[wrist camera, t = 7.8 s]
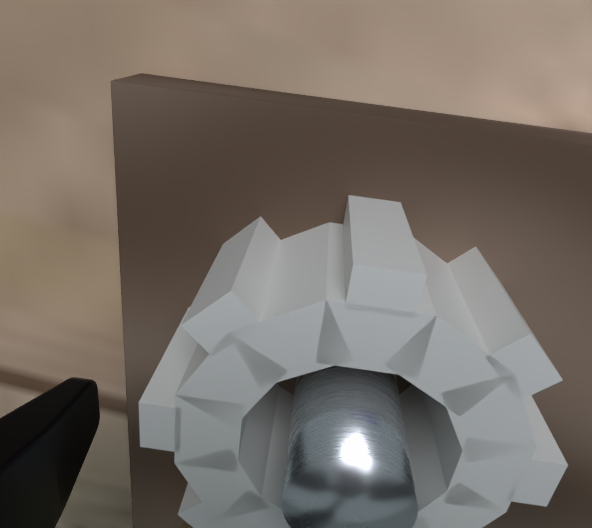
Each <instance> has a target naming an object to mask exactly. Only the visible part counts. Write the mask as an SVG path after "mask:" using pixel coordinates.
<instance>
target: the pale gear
mask: <svg viewBox="0 0 592 528" xmlns="http://www.w3.org/2000/svg"><path fill="white" fill-rule="evenodd" d="M335 365H336V366H342V367H349V368H356V369H363V370H370V371H377V372H384V373H391V374H398V375H400V376H402V377H403V378H404V379H406V380H407V381H409V382H410V383H412V385H411V386H409V387H408V388H407V389H406V390H405V391H404V392H402V393H401V394H400V395H399V397H400V403H401V409H402V415H403V421H404V427H405V433H406V439H407V445H408V451H409V456H410V462H411V468H412V474H413V480H414V486H415V492H416V498H417V504H418V515H417V519H416V522H415V524H414V526H413V527H412V528H483V527H484V526H486V525H487V524H489V523H490V522H492V521H494V520H495V519H497V518H498V517H500V516H501V515H503V514H504V513H506V512H507V510H508V507H509V505H510V503H511V501H512V502H518V503H525V504H532V505H539V506H545V507H547V505H548V503H549V501H550V499H551V497H552V495H553V493H554V491H555V490H556V488H557V486H558V484H559V482H560V480H561V478H562V476H563V474H564V472H565V470H566V468H567V467H568V464H567V462H566V460H565V458H564V456H563V454H562V452H561V451H560V449H559V447H558V445H557V443H556V441H555V439H554V437H553V435H552V433H551V432H550V430H549V428H548V426H547V424H546V422H545V420H544V418H543V416H542V414H541V413H540V411H539V409H538V407H537V405H536V403H535V401H534V399H533V397H532V395H533V394H535V393H537V392H539V391H541V390H543V389H546V388H548V387H550V386H552V385H554V384H556V383H558V382H561V381H563V379H562V378H561V376H560V375H559V373H558V372H557V370H556V368H555V367H554V365H553V364H552V362H551V361H550V359H549V357H548V356H547V354H546V353H545V351H544V350H543V348H542V346H541V345H540V343H539V342H538V340H537V339H536V337H535V336H534V334H533V332H532V331H531V329H530V328H529V326H528V325H527V323H526V321H525V320H524V318H523V317H522V315H521V314H520V312H519V310H518V309H517V307H516V306H515V304H514V303H513V301H512V299H511V298H510V296H509V295H508V293H507V292H506V290H505V288H504V287H503V285H502V284H501V282H500V281H499V279H498V278H497V276H496V275H495V273H494V272H493V271H492V269H491V268H490V266H489V265H488V263H487V262H486V260H485V259H484V257H483V256H482V254H481V253H480V251H479V250H478V249H477V247H474V248H472V249H471V250H469V251H467V252H466V253H464V254H462V255H461V256H459V257H457V258H456V259H454V260H452V261H451V262H449V263H446V262H445V261H443V260H442V259H441V258H440V257H438V256H437V255H436V254H434V253H433V252H432V251H431V250H429V249H428V248H427V247H425V246H424V245H423V244H421V243H420V242H419V241H418V240H416V239H415V238H414V237H413V235H412V232H411V229H410V226H409V224H408V221H407V218H406V215H405V213H404V210H403V207H402V204H401V202H395V201H388V200H381V199H374V198H366V197H359V196H352V195H348V200H347V205H346V211H345V217H344V223H343V224H338V223H331V222H329V223H326V224H323V225H320V226H318V227H315V228H312V229H309V230H307V231H304V232H301V233H299V234H296V235H293V236H290V237H288V238H285V239H282V240H280V238H279V237H278V236H277V235H276V234H275V233H274V231H273V230H272V229H271V228H270V227H269V225H268V224H267V223H266V222H265V221H264V220H263V218H262V217H261V216H260V217H259V218H258V219H256V220H255V221H253V222H252V223H251V224H249V225H248V226H247V227H245V228H244V229H243V230H241V231H240V232H239V233H237V234H236V235H234V236H233V237H232V238H230V239H229V240H228V241H226V242H225V243H224V244H223V245H222V247H221V249H220V251H219V253H218V255H217V257H216V259H215V260H214V262H213V264H212V266H211V268H210V270H209V272H208V274H207V276H206V278H205V280H204V282H203V284H202V285H201V287H200V289H199V291H198V293H197V295H196V297H195V299H194V301H193V303H192V305H191V307H189V308H188V309H187V311H186V313H185V315H184V317H183V319H182V321H181V323H180V325H179V327H178V328H177V330H176V332H175V334H174V336H173V338H172V340H171V342H170V344H169V346H168V347H167V349H166V351H165V353H164V355H163V357H162V359H161V361H160V363H159V365H158V367H157V368H156V370H155V372H154V374H153V376H152V378H151V380H150V382H149V384H148V386H147V387H146V389H145V391H144V393H143V395H142V397H141V399H140V401H139V430H140V447H145V448H152V449H159V450H165V451H172V452H175V453H174V463H175V465H176V466H177V468H178V469H179V470H180V472H181V473H182V475H183V476H184V477H185V479H186V480H187V482H188V484H187V487H186V491H185V494H184V497H183V500H182V503H181V506H180V509H179V512H178V515H179V516H180V517H181V518H182V519H183V520H185V521H186V522H187V523H188V524H190V525H191V526H192V527H193V528H291V527H290V526H289V525H288V523H287V521H286V520H285V518H284V515H283V511H282V497H283V488H284V480H285V471H286V462H287V454H288V445H289V436H290V428H291V419H292V410H293V402H294V395H293V394H291V393H289V392H288V391H286V390H285V389H283V388H282V387H280V386H279V385H278V383H277V382H280V381H283V380H287V379H290V378H294V377H297V376H300V375H304V374H307V373H311V372H314V371H317V370H321V369H324V368H328V367H331V366H335Z"/></svg>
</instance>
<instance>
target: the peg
mask: <svg viewBox="0 0 592 528" xmlns="http://www.w3.org/2000/svg"><path fill="white" fill-rule="evenodd" d="M282 511H283V515H284V518H285V520H286V521H287V523H288V525H289V526H290V527H291V528H412V527H413V526H414V524H415V522H416V519H417V515H418V504H417V498H416V492H415V486H414V480H413V474H412V468H411V462H410V456H409V451H408V445H407V439H406V433H405V427H404V421H403V415H402V409H401V403H400V397H399V391H398V385H397V379H396V374H391V373H384V372H377V371H370V370H363V369H356V368H349V367H342V366H336V365H335V366H331V367H328V368H324V369H321V370H317V371H314V372H311V373H307V374H304V375H300V376H297V377H296V384H295V393H294V402H293V410H292V419H291V428H290V436H289V445H288V454H287V462H286V471H285V480H284V488H283V497H282Z"/></svg>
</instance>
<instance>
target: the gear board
mask: <svg viewBox="0 0 592 528" xmlns="http://www.w3.org/2000/svg"><path fill="white" fill-rule="evenodd" d="M111 97H112V117H113V136H114V156H115V176H116V196H117V216H118V235H119V255H120V275H121V295H122V314H123V334H124V354H125V374H126V394H127V413H128V433H129V453H130V473H131V492H132V512H133V528H181V527H182V523H183V519H182V518H181V517H180V516H179V515H178V512H179V509H180V506H181V503H182V500H183V497H184V494H185V491H186V487H187V484H188V482H187V480H186V479H185V477H184V476H183V475H182V473H181V472H180V470H179V469H178V468H177V466H176V465H175V463H174V453H175V452H172V451H165V450H159V449H152V448H145V447H140V430H139V401H140V399H141V397H142V395H143V393H144V391H145V389H146V387H147V386H148V384H149V382H150V380H151V378H152V376H153V374H154V372H155V370H156V368H157V367H158V365H159V363H160V361H161V359H162V357H163V355H164V353H165V351H166V349H167V347H168V346H169V344H170V342H171V340H172V338H173V336H174V334H175V332H176V330H177V328H178V327H179V325H180V323H181V321H182V319H183V317H184V315H185V313H186V311H187V309H188V308H189V307H191V305H192V303H193V301H194V299H195V297H196V295H197V293H198V291H199V289H200V287H201V285H202V284H203V282H204V280H205V278H206V276H207V274H208V272H209V270H210V268H211V266H212V264H213V262H214V260H215V259H216V257H217V255H218V253H219V251H220V249H221V247H222V245H223V244H224V243H225V242H226V241H228V240H229V239H230V238H232V237H233V236H234V235H236V234H237V233H239V232H240V231H241V230H243V229H244V228H245V227H247V226H248V225H249V224H251V223H252V222H253V221H255V220H256V219H258V218H259V217H260V216H261V217H262V218H263V220H264V221H265V222H266V223H267V224H268V225H269V227H270V228H271V229H272V230H273V231H274V233H275V234H276V235H277V236H278V237H279V238H280V240H282V239H285V238H288V237H290V236H293V235H296V234H299V233H301V232H304V231H307V230H309V229H312V228H315V227H318V226H320V225H323V224H326V223H329V222H331V223H338V224H343V223H344V217H345V211H346V205H347V200H348V195H352V196H359V197H366V198H374V199H381V200H388V201H395V202H401V204H402V207H403V210H404V213H405V215H406V218H407V221H408V224H409V226H410V229H411V232H412V235H413V237H414V238H415V239H416V240H418V241H419V242H420V243H421V244H423V245H424V246H425V247H427V248H428V249H429V250H431V251H432V252H433V253H434V254H436V255H437V256H438V257H440V258H441V259H442V260H443V261H445V262H446V263H449V262H451V261H452V260H454V259H456V258H457V257H459V256H461V255H462V254H464V253H466V252H467V251H469V250H471V249H472V248H474V247H477V249H478V250H479V251H480V253H481V254H482V256H483V257H484V259H485V260H486V262H487V263H488V265H489V266H490V268H491V269H492V271H493V272H494V273H495V275H496V276H497V278H498V279H499V281H500V282H501V284H502V285H503V287H504V288H505V290H506V292H507V293H508V295H509V296H510V298H511V299H512V301H513V303H514V304H515V306H516V307H517V309H518V310H519V312H520V314H521V315H522V317H523V318H524V320H525V321H526V323H527V325H528V326H529V328H530V329H531V331H532V332H533V334H534V336H535V337H536V339H537V340H538V342H539V343H540V345H541V346H542V348H543V350H544V351H545V353H546V354H547V356H548V357H549V359H550V361H551V362H552V364H553V365H554V367H555V368H556V370H557V372H558V373H559V375H560V376H561V378H562V379H563V381H561V382H558V383H556V384H554V385H552V386H550V387H548V388H546V389H543V390H541V391H539V392H537V393H535V394H533V395H532V397H533V399H534V401H535V403H536V405H537V407H538V409H539V411H540V413H541V414H542V416H543V418H544V420H545V422H546V424H547V426H548V428H549V430H550V432H551V433H552V435H553V437H554V439H555V441H556V443H557V445H558V447H559V449H560V451H561V452H562V454H563V456H564V458H565V460H566V462H567V464H568V467H567V468H566V470H565V472H564V474H563V476H562V478H561V480H560V482H559V484H558V486H557V488H556V490H555V491H554V493H553V495H552V497H551V499H550V501H549V503H548V505H547V507H545V506H539V505H532V504H525V503H518V502H512V501H511V503H510V505H509V507H508V510H507V512H506V513H504V514H503V515H501V516H500V517H498V518H497V519H495V520H494V521H492V522H490V523H489V524H487V525H486V526H484V527H483V528H592V133H585V132H577V131H570V130H562V129H555V128H547V127H540V126H532V125H524V124H517V123H509V122H502V121H494V120H487V119H479V118H472V117H464V116H457V115H449V114H442V113H434V112H427V111H419V110H412V109H404V108H397V107H389V106H382V105H374V104H367V103H359V102H352V101H344V100H337V99H329V98H322V97H314V96H306V95H299V94H291V93H284V92H276V91H269V90H261V89H254V88H246V87H239V86H231V85H224V84H216V83H209V82H201V81H194V80H186V79H179V78H171V77H164V76H156V75H149V74H137V75H133V76H129V77H125V78H121V79H117V80H113V81H111ZM396 379H397V385H398V391H399V395H400V394H401V393H402V392H404V391H405V390H406V389H407V388H408V387H409V386H411V385H412V383H410V382H409V381H407V380H406V379H404V378H403V377H402V376H400V375H398V374H396ZM277 383H278V385H279V386H280V387H282V388H283V389H285V390H286V391H288V392H289V393H291V394H293V395H294V393H295V384H296V377H294V378H290V379H287V380H283V381H280V382H277Z"/></svg>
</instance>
